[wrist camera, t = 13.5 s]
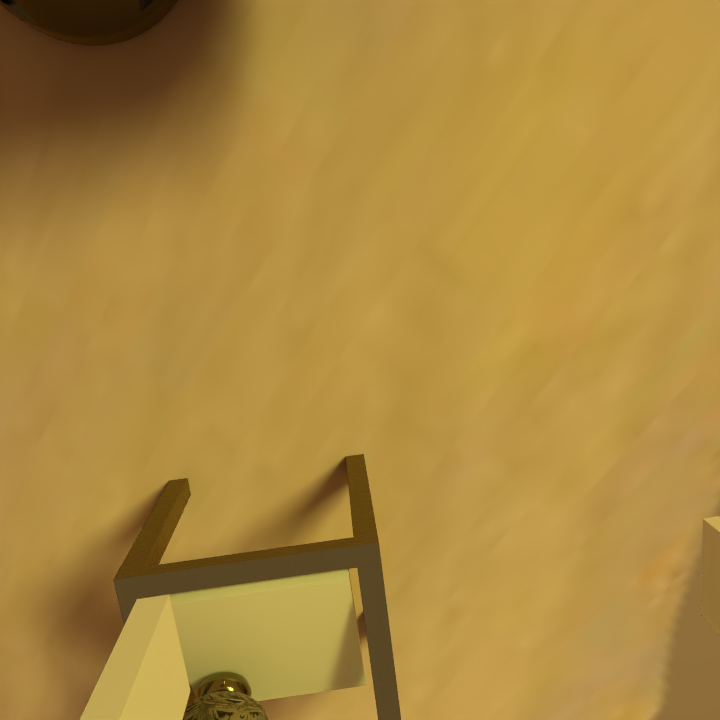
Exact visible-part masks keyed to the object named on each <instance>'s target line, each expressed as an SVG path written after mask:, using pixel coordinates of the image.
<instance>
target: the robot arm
mask: <svg viewBox="0 0 720 720" xmlns="http://www.w3.org/2000/svg"><path fill="white" fill-rule="evenodd" d="M176 1H177V0H0V4H1V5H2V6H3V7H5V8H6V9H7V10H8V11H10V12H11V13H12V14H14V15H15V16H17V17H18V18H20V19H21V20H23V21H24V22H26V23H28V24H29V25H31V26H32V27H34V28H36V29H37V30H39V31H41V32H43V33H45V34H47V35H50V36H52V37H54V38H57V39H60V40H63V41H67V42H71V43H76V44H83V45H106V44H113V43H117V42H121V41H125V40H128V39H130V38H133V37H135V36H137V35H139V34H141V33H143V32H145V31H146V30H148V29H149V28H151V27H152V26H154V25H155V24H156V23H157V22H159V21H160V20H161V19H162V18H163V17H164V16H165V15H166V14H167V13H168V12H169V11H170V9H171V8H172V7H173V5H174V4H175V3H176ZM701 616H702V617H703V618H704V619H705V620H706V621H707V622H708V623H709V624H710V625H711V626H712V627H713V628H714V629H715V630H716V632H718V634H719V635H720V516H718V517H711V518H704V519H703V540H702V596H701ZM189 694H190V686H189V682H188V677H187V673H186V668H185V664H184V659H183V655H182V650H181V646H180V642H179V637H178V633H177V628H176V624H175V619H174V615H173V610H172V606H171V602H170V597H169V595H163V596H156V597H149V598H142V599H137V600H136V602H135V604H134V606H133V609H132V611H131V613H130V615H129V617H128V619H127V621H126V623H125V625H124V627H123V630H122V632H121V634H120V636H119V638H118V640H117V642H116V644H115V646H114V649H113V651H112V653H111V655H110V657H109V659H108V661H107V663H106V665H105V667H104V670H103V672H102V674H101V676H100V678H99V680H98V682H97V684H96V686H95V689H94V691H93V693H92V695H91V697H90V699H89V701H88V703H87V705H86V708H85V710H84V712H83V714H82V716H81V718H80V720H183V716H184V712H185V709H186V705H187V701H188V698H189Z"/></svg>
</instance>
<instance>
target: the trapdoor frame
mask: <svg viewBox="0 0 720 720" xmlns="http://www.w3.org/2000/svg"><path fill="white" fill-rule="evenodd" d="M346 465H347V475H348V485H349V495H350V506H351V516H352V526H353V536H354V537H353V538H346V539H339V540H331V541H324V542H317V543H310V544H303V545H296V546H289V547H282V548H275V549H268V550H260V551H253V552H246V553H239V554H232V555H225V556H218V557H211V558H204V559H197V560H189V561H182V562H175V563H168V564H161V565H159V563H160V560H161V558H162V556H163V554H164V552H165V550H166V547H167V545H168V543H169V541H170V539H171V537H172V534H173V532H174V530H175V528H176V526H177V524H178V521H179V519H180V517H181V515H182V513H183V510H184V508H185V506H186V504H187V502H188V500H189V497H190V495H191V494H190V489H189V484H188V479H187V478H185V479H178V480H171V481H169V482H168V484H167V485H166V487H165V489H164V491H163V493H162V494H161V496H160V498H159V500H158V501H157V503H156V505H155V507H154V509H153V510H152V512H151V514H150V516H149V517H148V519H147V521H146V523H145V525H144V526H143V528H142V530H141V532H140V533H139V535H138V537H137V539H136V541H135V542H134V544H133V546H132V548H131V549H130V551H129V553H128V555H127V556H126V558H125V560H124V562H123V564H122V565H121V567H120V569H119V571H118V572H117V574H116V576H115V578H114V580H113V581H114V585H115V589H116V593H117V597H118V601H119V605H120V609H121V613H122V617H123V621H124V625H125V623H126V621H127V619H128V617H129V615H130V613H131V611H132V609H133V606H134V604H135V602H136V600H137V599H142V598H149V597H153V596H160V595H167V594H174V593H181V592H188V591H195V590H203V589H210V588H217V587H224V586H231V585H238V584H245V583H252V582H259V581H266V580H273V579H280V578H287V577H294V576H301V575H308V574H315V573H322V572H329V571H336V570H343V569H350V568H358V576H359V583H360V590H361V597H362V605H363V612H364V619H365V627H366V634H367V641H368V648H369V656H370V663H371V670H372V678H373V685H374V692H375V699H376V707H377V714H378V720H401V715H400V707H399V699H398V691H397V683H396V675H395V667H394V660H393V652H392V644H391V636H390V628H389V620H388V612H387V604H386V596H385V588H384V580H383V572H382V564H381V557H380V549H379V541H378V535H377V530H376V524H375V518H374V512H373V506H372V500H371V495H370V489H369V483H368V477H367V471H366V466H365V460H364V454H361V455H354V456H346ZM188 682H189V681H188ZM189 686H190V694H189V698H188V701H187V705H186V707H187V706H188V705H189V704H190V703H191V702H193V701H194V700H196V696H195V694H194V692H193V690H192V687H191V685H190V683H189Z"/></svg>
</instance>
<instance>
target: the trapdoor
mask: <svg viewBox="0 0 720 720" xmlns="http://www.w3.org/2000/svg"><path fill="white" fill-rule="evenodd" d="M167 595H169V597H170V602H171V606H172V610H173V615H174V619H175V624H176V628H177V633H178V637H179V642H180V646H181V650H182V655H183V659H184V664H185V668H186V673H187V677H188V681H189V683H190V685H191V687H192V690H193V692H194V694H195V696H196V694H197V691H198V688H199V687H200V685H201V683H202V682H203V681H204V680H205V679H206V678H207V677H209V676H210V675H213V674H216V673H220V672H233V673H237V674H240V675H242V676H243V677H244V678H246V680H247V681H248V683H249V685H250V687H251V691H252V694H251V698H253V699H254V700H256V701H263V700H270V699H276V698H283V697H290V696H297V695H303V694H310V693H317V692H324V691H330V690H337V689H344V688H351V687H357V686H364V685H366V677H365V669H364V663H363V657H362V651H361V644H360V638H359V632H358V626H357V619H356V613H355V607H354V601H353V594H352V588H351V582H350V576H349V569H343V570H336V571H329V572H322V573H315V574H308V575H301V576H294V577H287V578H280V579H273V580H266V581H259V582H252V583H245V584H238V585H231V586H224V587H217V588H210V589H203V590H195V591H188V592H181V593H174V594H167ZM160 596H163V595H160Z"/></svg>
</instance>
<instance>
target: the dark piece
mask: <svg viewBox="0 0 720 720" xmlns="http://www.w3.org/2000/svg"><path fill="white" fill-rule="evenodd" d="M251 694H252V691H251V687H250V685H249V683H248V681H247V680H246V678H244V677H243V676H242V675H240V674H237V673H233V672H220V673H216V674H213V675H210V676H209V677H207V678H206V679H205V680H204V681H203V682H202V683H201V685H200V687H199V688H198V691H197V694H196V700H194V701H193V702H191V703H190V704H189V705H188V706H187V707H186V709H185V712H184V716H183V720H268V717H267V715H266V713H265V711H264V710H263V708H262V707H261V705H260V704H259V703H258V702H257V701H256V700H254V699H253V698H251Z"/></svg>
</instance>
